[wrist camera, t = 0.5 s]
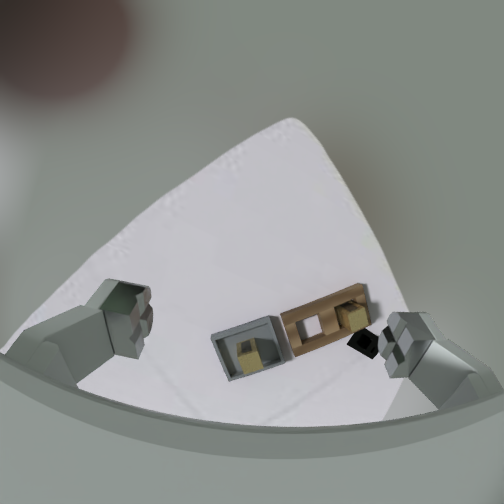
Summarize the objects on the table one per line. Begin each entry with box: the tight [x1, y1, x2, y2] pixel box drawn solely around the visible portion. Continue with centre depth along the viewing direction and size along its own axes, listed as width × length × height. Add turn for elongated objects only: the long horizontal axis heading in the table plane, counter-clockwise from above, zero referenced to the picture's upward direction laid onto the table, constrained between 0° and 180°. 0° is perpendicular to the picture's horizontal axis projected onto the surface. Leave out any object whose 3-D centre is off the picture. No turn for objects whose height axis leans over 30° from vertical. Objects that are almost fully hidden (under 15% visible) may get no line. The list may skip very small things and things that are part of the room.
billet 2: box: [334, 300, 369, 332], centre depth 56 cm, size 4×4×8 cm
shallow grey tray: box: [211, 316, 285, 381], centre depth 58 cm, size 11×13×2 cm
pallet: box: [280, 283, 372, 357], centre depth 59 cm, size 10×19×2 cm, turn 109°
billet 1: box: [236, 338, 264, 375], centre depth 54 cm, size 4×4×8 cm
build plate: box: [347, 328, 379, 359], centre depth 59 cm, size 12×7×5 cm, turn 57°
